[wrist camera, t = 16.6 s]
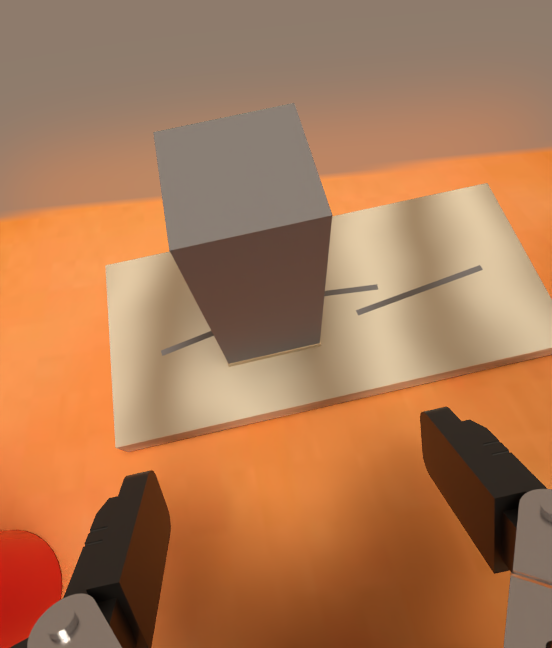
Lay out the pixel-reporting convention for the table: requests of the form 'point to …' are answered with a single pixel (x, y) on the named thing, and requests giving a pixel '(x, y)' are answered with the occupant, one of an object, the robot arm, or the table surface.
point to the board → (334, 322)
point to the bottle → (25, 584)
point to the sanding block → (248, 229)
